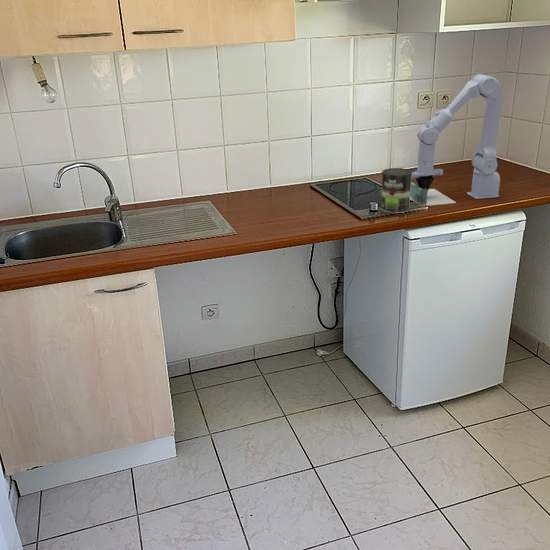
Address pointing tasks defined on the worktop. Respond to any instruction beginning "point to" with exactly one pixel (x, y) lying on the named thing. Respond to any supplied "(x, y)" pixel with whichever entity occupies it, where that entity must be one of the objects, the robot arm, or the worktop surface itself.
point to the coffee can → (396, 189)
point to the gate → (415, 190)
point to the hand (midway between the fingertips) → (423, 195)
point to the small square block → (422, 196)
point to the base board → (436, 198)
